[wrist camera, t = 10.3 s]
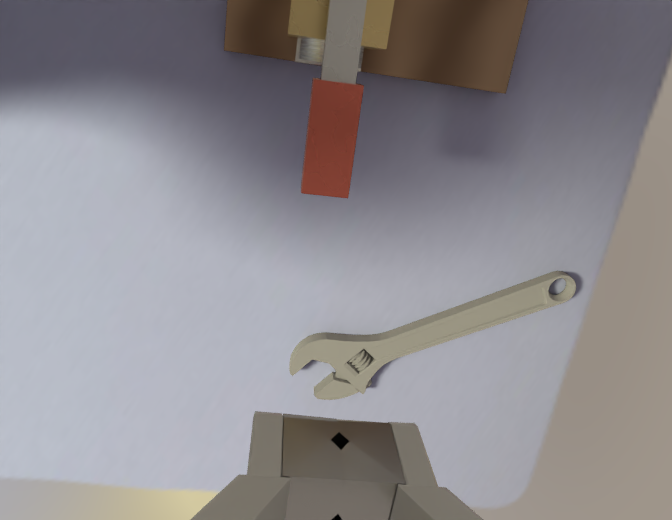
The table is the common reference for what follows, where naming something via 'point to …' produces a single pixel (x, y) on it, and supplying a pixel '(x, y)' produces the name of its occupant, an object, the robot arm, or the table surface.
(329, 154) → the valve lever
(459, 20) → the base board
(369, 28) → the pipe manifold
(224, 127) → the table surface
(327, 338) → the adjustable wrench
